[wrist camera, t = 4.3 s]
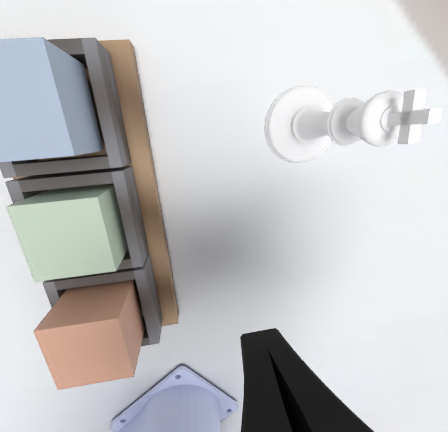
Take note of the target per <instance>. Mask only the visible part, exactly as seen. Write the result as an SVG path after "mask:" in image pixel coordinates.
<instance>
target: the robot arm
mask: <svg viewBox="0 0 448 432" xmlns="http://www.w3.org/2000/svg"><path fill="white" fill-rule="evenodd" d="M240 338H241V349H242V360H243V370H244V400H243V413H242V426H241V432H374V431H373V430H372V429H371V428H369V427H368V426H367V425H366V424H365V423H364V422H363V421H362V420H361V419H360V418H358V417H357V416H356V415H355V414H354V413H353V412H352V411H351V410H350V409H349V408H348V407H347V406H346V405H345V404H344V403H343V402H342V401H341V400H340V399H339V398H338V397H337V396H336V395H335V394H334V393H333V392H332V391H331V390H330V389H329V388H328V387H327V386H326V385H325V384H324V383H323V382H322V381H321V380H320V379H319V378H318V377H317V375H316V374H315V373H314V372H313V371H312V370H311V369H310V368H309V367H308V366H307V365H306V363H305V362H304V361H303V360H302V359H301V358H300V357H299V355H298V354H297V353H296V352H295V351H294V350H293V348H292V347H291V346H290V345H289V344H288V342H287V341H286V340H285V339H284V337H283V336H282V335H281V333H280V332H279V331H278V330H277V329H276V328H274V329H268V330H263V331H257V332H252V333H246V334H243V335H242V336H241V337H240ZM237 407H238V406H237V402H236V401H235V400H233V399H232V398H230V397H229V396H227V395H226V394H225V393H223V392H222V391H220V390H219V389H217V388H216V387H214V386H213V385H212V384H210V383H209V382H207V381H206V380H204V379H203V378H201V377H200V376H199V375H197V374H196V373H194V372H193V371H191V370H190V369H189V368H187V367H185V366H180V367H178V368H177V369H175V370H174V371H173V372H172V373H171V374H169V375H168V376H167V377H166V378H164V379H163V380H162V381H161V382H159V383H158V384H157V385H156V386H155V387H153V388H152V389H151V390H150V391H148V392H147V393H146V394H145V395H143V396H142V397H141V398H140V399H139V400H137V401H136V402H135V403H134V404H132V405H131V406H130V407H129V408H128V409H126V410H125V411H124V412H123V413H121V414H120V415H119V416H118V417H116V418H115V419H114V420H113V421H112V422H111V425H110V429H111V430H113V431H115V432H222V430H221V421H222V420H223V419H224V418H226V417H227V416H228V415H230V414H231V413H232V412H234V411H235V410H236V409H237Z"/></svg>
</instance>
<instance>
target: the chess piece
mask: <svg viewBox="0 0 448 432" xmlns="http://www.w3.org/2000/svg"><path fill="white" fill-rule="evenodd" d="M426 96H427V89H417V90H411V91H406V92H404V96H403V95H402V94H400V93H398V92H395V91H385V92H381V93H379V94H377V95H375V96H373V97H372V98H370V99H369V100H368V101H366V102H365V103H364V102H363V101H361V100H359V99H356V98H346V99H343V100H341V101H340V102H338V103H337V104H336V105H335V106H334V104H333V102H332V100H331V99H330V97H329V96H328V95H327V94H326V93H325V92H323V91H322V90H320V89H318V88H316V87H311V86H299V87H294V88H291V89H289V90H287V91H285V92H283V93H282V94H281V95H280V96H278V97H277V99H276V100H275V101H274V102H273V104H272V105H271V107H270V109H269V111H268V114H267V117H266V122H265V134H266V139H267V142H268V144H269V146H270V148H271V150H272V151H273V152H274V153H275V154H276V155H277V156H278V157H280V158H281V159H283V160H285V161H288V162H306V161H309V160H312V159H314V158H316V157H318V156H319V155H321V154H322V153H323V152H324V151H325V150H326V149H327V148H328V146H329V145H330V143H331V142H332V141H333V142H335V143H336V144H338V145H343V146H345V145H351V144H353V143H355V142H357V141H359V140H360V139H362V140H363V141H365V142H366V143H368V144H370V145H373V146H386V145H389V144H391V143H393V142H394V141H396V140H397V139H398V144H412V143H419V142H420V135H421V128H422V124H431V123H440V120H441V115H442V109H443V107H442V108H433V109H425V102H426Z"/></svg>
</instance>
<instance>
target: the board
mask: <svg viewBox="0 0 448 432" xmlns="http://www.w3.org/2000/svg"><path fill="white" fill-rule="evenodd" d="M47 41H49V42H50V43H52V44H53V45H55V46H57V47H58V48H60V49H61V50H63V51H64V52H66V53H67V54H69V55H70V56H72V57H73V58H75V59H76V60H78V61H79V62H81V63H82V64H84V68H85V72H86V76H87V81H88V85H89V89H90V94H91V98H92V102H93V107H94V111H95V115H96V120H97V124H98V129H99V133H100V137H101V142H102V146H103V151H98V152H93V153H87V154H82V155H76V156H67V157H56V158H44V159H33V160H21V161H10V162H0V169H1V172H2V175H3V177H4V178H10V177H13V179H14V180H11V181H7V182H5V183H6V185H7V188H8V191H9V194H10V196H11V199H12V202H13V204H14V203H17V202H19V201H22V200H24V199H27V198H29V197H32V196H34V195H37V194H40V193H42V192H45V191H47V190H55V189H65V188H75V187H85V186H96V185H106V184H114V186H115V191H116V195H117V200H118V204H119V209H120V213H121V217H122V222H123V226H124V231H125V235H126V240H127V244H128V250H127V252H126V254H125V256H124V258H123V259H122V261H121V263H120V265H119V267H118V269H117V271H114V272H106V273H99V274H91V275H84V276H76V277H69V278H61V279H54V280H46V281H44V282H43V285H44V288H45V291H46V293H47V296H48V299H49V302H50V304H51V307H53V306H54V305H55V303H56V302H57V301H58V300H59V298H60V297H61V296H62V295H63V293H64V292H65V291H66V290H67V289H69V288H76V287H84V286H91V285H98V284H105V283H113V282H120V281H127V280H133V281H134V285H135V290H136V294H137V298H138V303H139V307H140V312H141V316H142V320H143V325H144V329H145V330H144V334H143V339H142V343H141V346H145V345H151V344H157V343H159V341H160V334H161V327H162V326H165V325H171V324H177V323H178V315H179V312H178V306H177V300H176V295H175V289H174V283H173V277H172V271H171V265H170V259H169V253H168V247H167V241H166V235H165V229H164V223H163V217H162V211H161V205H160V200H159V194H158V188H157V182H156V176H155V170H154V164H153V158H152V152H151V146H150V140H149V134H148V128H147V122H146V116H145V111H144V105H143V99H142V93H141V87H140V81H139V75H138V69H137V63H136V57H135V51H134V47H133V45H132V43H131V42H130V40H107V41H98V40H97V39H96V38H77V39H53V40H47Z"/></svg>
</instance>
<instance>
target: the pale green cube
mask: <svg viewBox="0 0 448 432" xmlns="http://www.w3.org/2000/svg"><path fill="white" fill-rule="evenodd" d="M6 208H7V211H8V213H9V216H10V218H11V221H12V224H13V226H14V229H15V231H16V234H17V237H18V239H19V242H20V245H21V247H22V250H23V252H24V255H25V258H26V260H27V263H28V266H29V268H30V271H31V273H32V276H33V279H34V281H35V282H39V281H46V280H54V279H61V278H69V277H76V276H84V275H91V274H99V273H106V272H114V271H117V269H118V267H119V265H120V263H121V261H122V259H123V258H124V256H125V254H126V252H127V250H128V244H127V240H126V235H125V231H124V226H123V222H122V217H121V213H120V209H119V204H118V200H117V195H116V191H115V186H114V184H106V185H96V186H85V187H75V188H65V189H55V190H47V191H45V192H42V193H40V194H37V195H34V196H32V197H29V198H27V199H24V200H22V201H19V202H17V203H14V204H12V205H9V206H6Z"/></svg>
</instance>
